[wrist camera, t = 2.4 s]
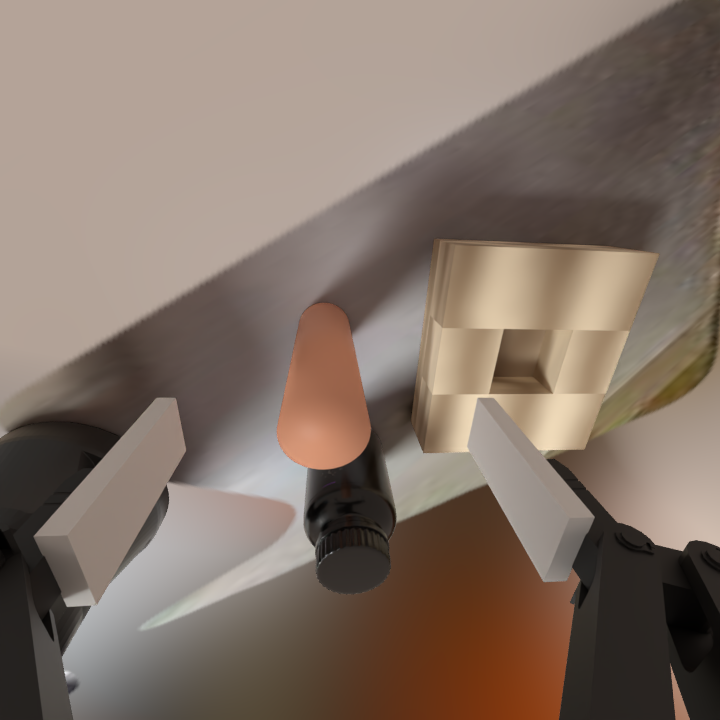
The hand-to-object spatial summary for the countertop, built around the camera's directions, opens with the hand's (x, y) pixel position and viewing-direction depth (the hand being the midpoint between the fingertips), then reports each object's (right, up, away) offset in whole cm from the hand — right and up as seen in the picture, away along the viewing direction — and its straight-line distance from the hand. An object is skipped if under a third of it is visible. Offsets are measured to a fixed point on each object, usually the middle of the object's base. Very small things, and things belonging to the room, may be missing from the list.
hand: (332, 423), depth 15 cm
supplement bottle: (0, -5, +17) cm, 18 cm away
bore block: (+13, +4, +14) cm, 20 cm away
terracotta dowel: (-2, +5, +12) cm, 13 cm away
